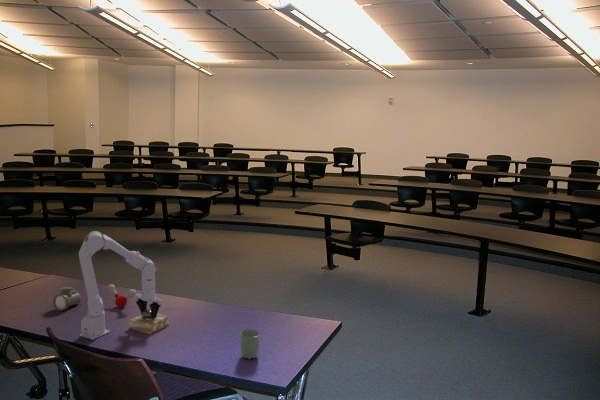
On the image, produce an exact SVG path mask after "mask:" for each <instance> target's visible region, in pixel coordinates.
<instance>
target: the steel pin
mask: <svg viewBox="0 0 600 400" xmlns="http://www.w3.org/2000/svg"><path fill="white" fill-rule="evenodd" d="M142 315H143V318H145V320H148V321H150V320H152V314H151V308H147V309H145V310H143V311H142Z"/></svg>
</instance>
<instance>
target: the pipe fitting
mask: <svg viewBox="0 0 600 400" xmlns="http://www.w3.org/2000/svg"><path fill="white" fill-rule="evenodd" d="M60 292H61V293H57V294H55V295H54V296H53V301H52V303H53V306H54V308H55V310H57V311H59V312H64V311H66V310H67V309H68V308H70V307H71V306H76V305H78V304H80V303H81V301H82V296H81V294H80V293H79V292H78V291H77V290H75V289H73V288H72V287H71V286H65V287H61V288H60Z"/></svg>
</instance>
